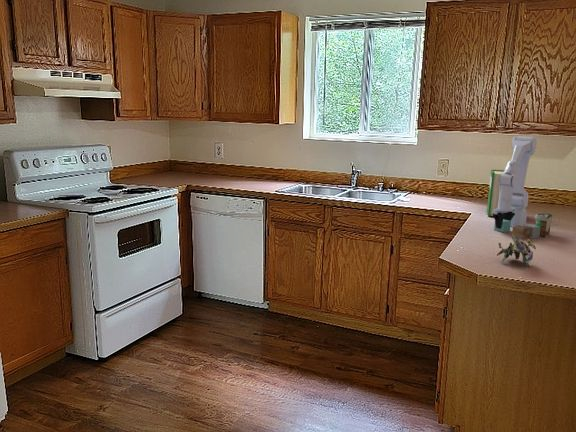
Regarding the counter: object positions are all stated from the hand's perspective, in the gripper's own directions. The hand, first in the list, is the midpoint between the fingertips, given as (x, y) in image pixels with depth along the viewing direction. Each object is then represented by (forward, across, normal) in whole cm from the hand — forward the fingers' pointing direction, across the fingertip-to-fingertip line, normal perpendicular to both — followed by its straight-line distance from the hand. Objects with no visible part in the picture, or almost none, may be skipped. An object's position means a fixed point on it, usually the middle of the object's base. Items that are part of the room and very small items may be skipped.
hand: (502, 227), depth 244 cm
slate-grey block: (+2, +2, -14) cm, 14 cm away
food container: (+2, +8, -14) cm, 16 cm away
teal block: (+1, 0, 0) cm, 1 cm away
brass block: (+2, -5, -13) cm, 14 cm away
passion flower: (+2, -45, -38) cm, 59 cm away
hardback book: (+2, +32, +28) cm, 43 cm away
